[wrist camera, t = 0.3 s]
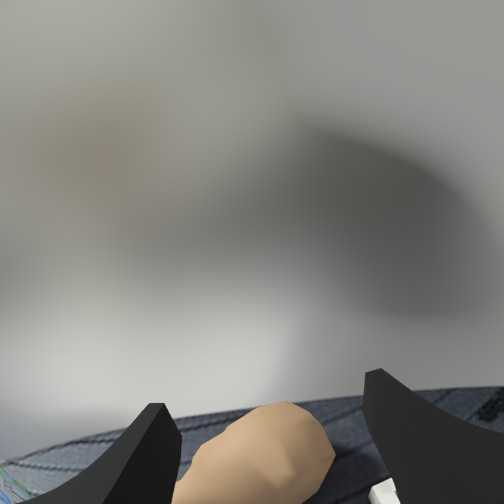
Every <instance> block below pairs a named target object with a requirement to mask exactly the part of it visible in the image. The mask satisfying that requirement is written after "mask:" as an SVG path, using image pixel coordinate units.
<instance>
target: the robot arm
mask: <svg viewBox="0 0 504 504" xmlns="http://www.w3.org/2000/svg"><path fill="white" fill-rule="evenodd" d="M362 411H363V414H364V417H365V420H366V423H367V426H368V429H369V432H370V434H371V436H372V438H373V440H374V442H375V444H376V446H377V448H378V451H379V453H380V455H381V457H382V459H383V461H384V463H385V465H386V467H387V469H388V471H389V473H390V475H391V478H392V480H393V483H394V485H395V489H396V492H397V495H398V498H399V501H400V504H504V433H499V432H495V431H492V430H488V429H485V428H482V427H479V426H476V425H473V424H470V423H468V422H466V421H463V420H461V419H459V418H457V417H454V416H452V415H450V414H448V413H447V412H445V411H443V410H441V409H439V408H438V407H436V406H434V405H433V404H431V403H429V402H428V401H426V400H425V399H423V398H422V397H420V396H419V395H417V394H416V393H414V392H413V391H411V390H410V389H409V388H407V387H406V386H404V385H403V384H402V383H400V382H399V381H398V380H396V379H395V378H394V377H392V376H391V375H390V374H388V373H387V372H386V371H384V370H383V369H381V368H380V369H376V370H373V371H370V372H367V373H365V385H364V397H363V407H362ZM181 447H182V435H181V434H180V432H179V430H178V428H177V426H176V425H175V423H174V421H173V419H172V417H171V415H170V413H169V411H168V410H167V408H166V406H165V404H164V403H149V404H148V405H147V406H146V407H145V409H144V410H143V411H142V412H141V413H140V414H139V415H138V417H137V418H136V419H135V420H134V421H133V423H132V424H131V425H130V426H129V427H128V428H127V429H126V430H125V431H124V433H123V434H122V435H121V436H120V437H119V438H118V439H117V440H116V441H115V442H114V443H113V444H112V445H111V446H110V447H109V448H108V449H107V450H106V451H105V452H104V453H103V454H102V455H101V456H100V457H99V458H98V459H97V460H96V461H95V462H93V463H92V464H91V465H90V466H89V467H87V468H86V469H85V470H83V471H82V472H81V473H79V474H78V475H77V476H75V477H74V478H72V479H70V480H69V481H67V482H66V483H64V484H62V485H61V486H59V487H57V488H55V489H53V490H51V491H49V492H47V493H45V494H42V495H40V496H38V497H35V498H32V499H29V500H26V501H22V502H19V503H15V504H171V503H172V498H173V493H174V489H175V484H176V479H177V474H178V469H179V465H180V459H181Z"/></svg>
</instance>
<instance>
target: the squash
mask: <svg viewBox="0 0 504 504" xmlns="http://www.w3.org/2000/svg"><path fill="white" fill-rule="evenodd" d="M335 455H336V454H335V452H334V450H333V448H332V446H331V444H330V442H329V439H328V437H327V435H326V433H325V431H324V429H323V427H322V425H321V424H320V423H319V422H318V421H317V420H316V419H315V418H314V417H313V416H312V415H311V414H310V413H309V412H308V411H306V410H304V409H302V408H300V407H298V406H296V405H294V404H292V403H290V402H288V401H285V402H281V403H276V404H272V405H267V406H262V407H257V408H256V409H254V410H253V411H251V412H250V413H248V414H247V415H245V416H244V417H242V418H240V419H239V420H237V421H236V422H234V423H232V424H231V425H229V426H228V427H227V428H226V430H225V431H224V432H223V433H222V434H220V435H218V436H216V437H215V438H213V439H211V440H210V441H208V442H206V443H204V444H202V445H201V447H200V448H199V450H198V451H197V453H196V454H195V456H194V457H193V460H192V465H191V467H190V468H189V470H188V471H187V473H186V474H185V475H184V477H183V478H182V479H181V480H180V481H178V482H176V484H175V489H174V493H173V498H172V503H171V504H302V503H303V502H305V501H306V500H307V499H308V498H310V497H311V496H312V495H313V494H315V493H316V492H317V491H318V489H319V488H320V486H321V484H322V482H323V480H324V478H325V476H326V474H327V472H328V470H329V468H330V466H331V464H332V462H333V460H334V458H335Z"/></svg>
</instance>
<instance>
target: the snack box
mask: <svg viewBox="0 0 504 504" xmlns="http://www.w3.org/2000/svg"><path fill="white" fill-rule="evenodd" d="M29 499H32V497H31V496H30V494H29V493H28V491H27V490H26V489H25V487H24V486H23V485H21V484H20V483H19V482H17V481H16V480H15V479H14V478H13V477H11V476H10V475H9V474H8V473H7V472H6V471H4V470H3V469H2V468H1V467H0V504H15V503H19V502H22V501H26V500H29Z"/></svg>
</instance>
